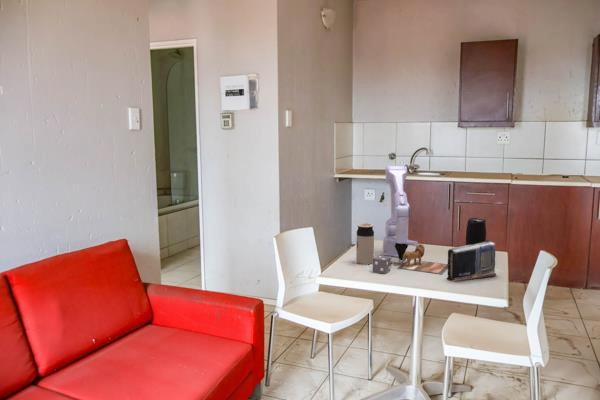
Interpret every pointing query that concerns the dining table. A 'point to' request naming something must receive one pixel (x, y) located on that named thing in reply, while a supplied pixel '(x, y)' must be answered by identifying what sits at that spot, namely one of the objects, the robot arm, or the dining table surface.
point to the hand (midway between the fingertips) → (401, 259)
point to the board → (425, 267)
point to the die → (381, 264)
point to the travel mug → (365, 243)
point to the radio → (471, 261)
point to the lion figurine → (414, 255)
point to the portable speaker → (475, 231)
